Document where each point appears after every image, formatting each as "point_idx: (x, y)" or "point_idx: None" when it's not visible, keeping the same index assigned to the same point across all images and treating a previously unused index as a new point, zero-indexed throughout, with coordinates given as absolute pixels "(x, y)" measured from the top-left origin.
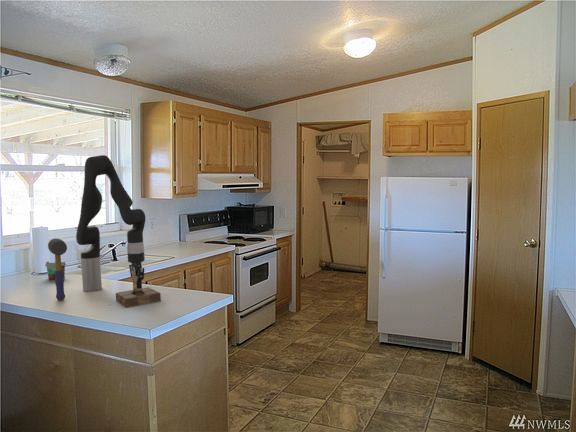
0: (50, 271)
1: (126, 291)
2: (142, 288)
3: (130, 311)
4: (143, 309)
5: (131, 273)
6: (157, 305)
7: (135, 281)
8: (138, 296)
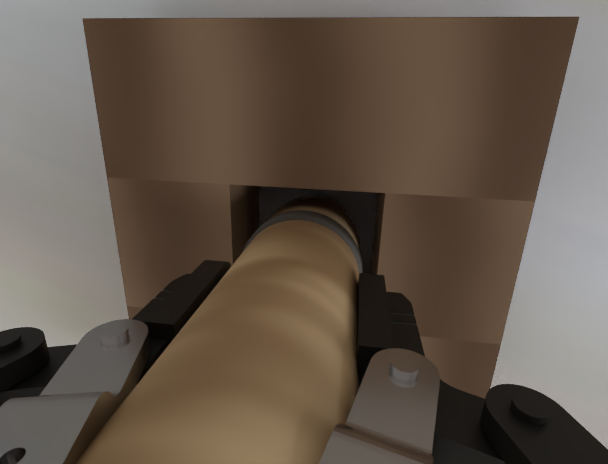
0: None
1: (503, 185)
2: (477, 388)
3: (5, 17)
4: (16, 143)
5: (410, 459)
6: (78, 278)
7: (200, 306)
8: (127, 191)
